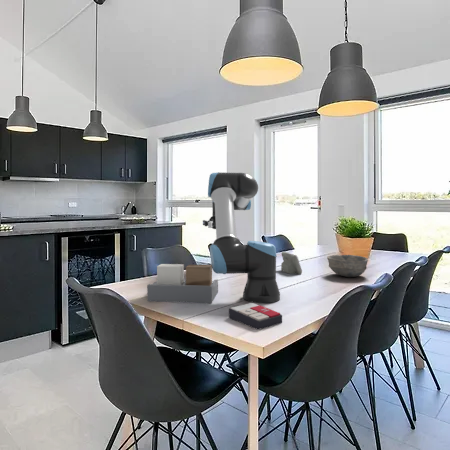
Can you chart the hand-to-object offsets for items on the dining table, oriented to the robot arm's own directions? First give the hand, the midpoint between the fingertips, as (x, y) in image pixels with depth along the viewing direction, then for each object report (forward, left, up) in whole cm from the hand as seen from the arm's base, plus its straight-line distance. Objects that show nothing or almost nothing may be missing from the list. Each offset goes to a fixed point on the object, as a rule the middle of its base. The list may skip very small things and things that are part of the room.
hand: (209, 224), depth 188 cm
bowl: (-46, -57, -28) cm, 78 cm away
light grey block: (-7, +31, -26) cm, 41 cm away
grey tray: (-13, +28, -28) cm, 42 cm away
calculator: (-54, +34, -29) cm, 70 cm away
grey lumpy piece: (-18, -47, -28) cm, 58 cm away
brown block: (-17, +24, -26) cm, 39 cm away
